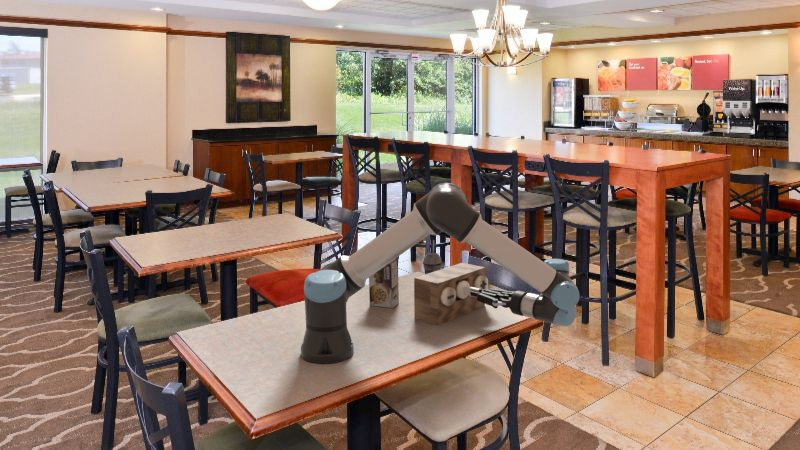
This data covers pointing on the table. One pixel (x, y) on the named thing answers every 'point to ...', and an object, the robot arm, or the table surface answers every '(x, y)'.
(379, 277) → the coffee box
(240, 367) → the table surface
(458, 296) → the plain button
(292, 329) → the table surface
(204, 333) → the table surface
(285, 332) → the table surface
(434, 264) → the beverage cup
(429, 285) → the walnut console
